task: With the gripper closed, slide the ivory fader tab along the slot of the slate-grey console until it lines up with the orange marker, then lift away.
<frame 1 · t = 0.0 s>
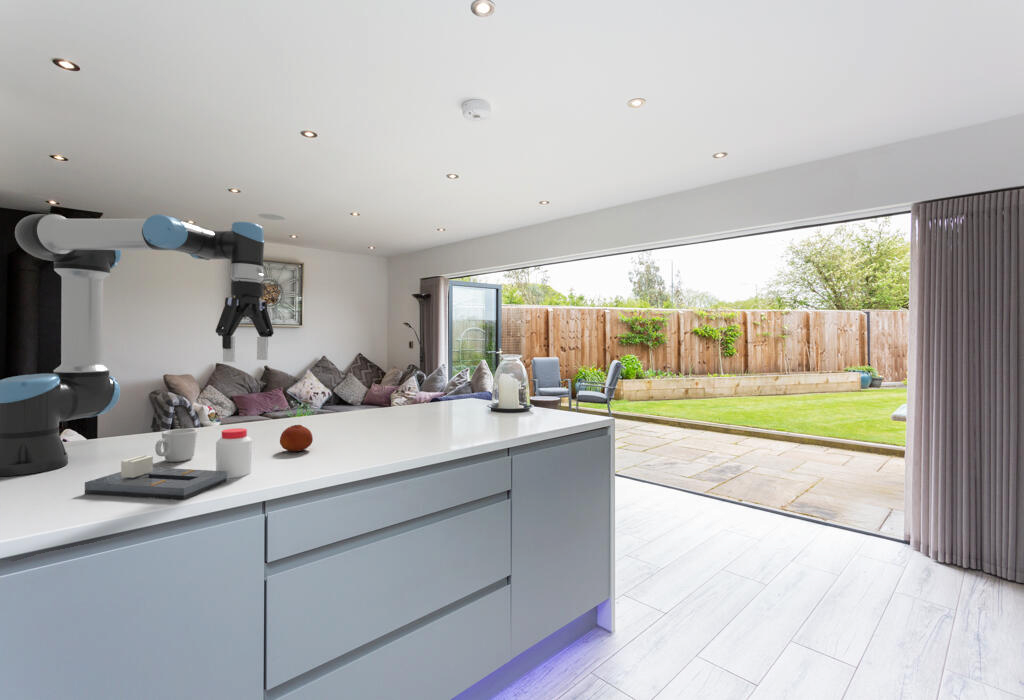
hand: (246, 361, 127), 28 cm above the table, fingers open, 13 cm apart
console: (159, 487, 107), on the table
fruit: (296, 451, 144), on the table
cup: (174, 461, 129), on the table
pill bottle: (233, 474, 119), on the table
fader: (137, 469, 107), point 4 cm above the table, slide at -5.5 cm
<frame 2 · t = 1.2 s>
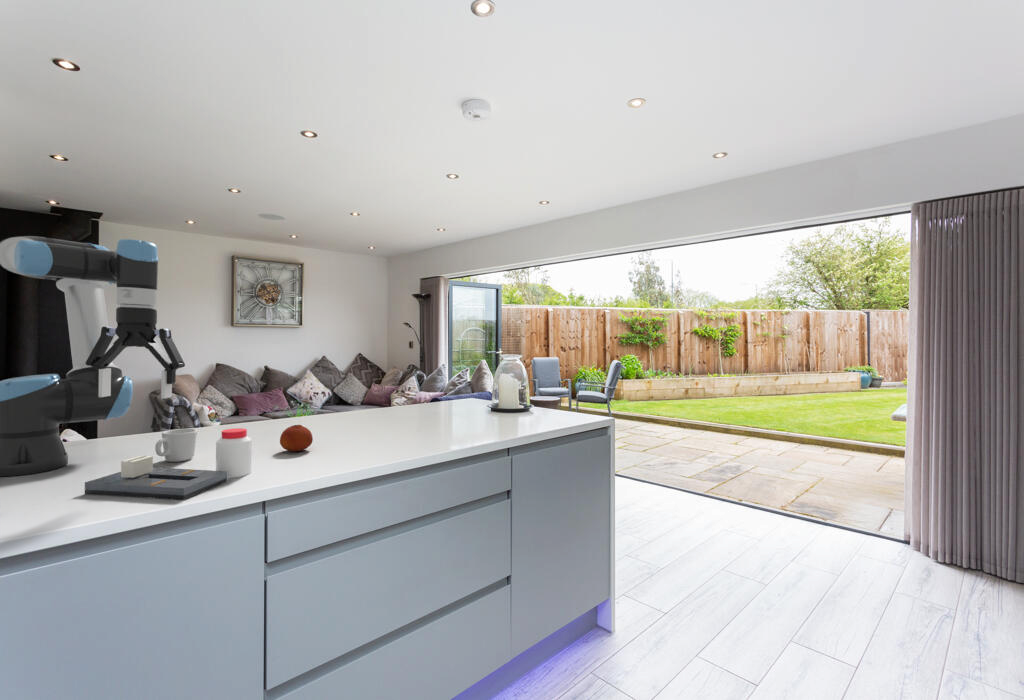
hand: (135, 397, 112), 20 cm above the table, fingers open, 13 cm apart
nothing on the table moved.
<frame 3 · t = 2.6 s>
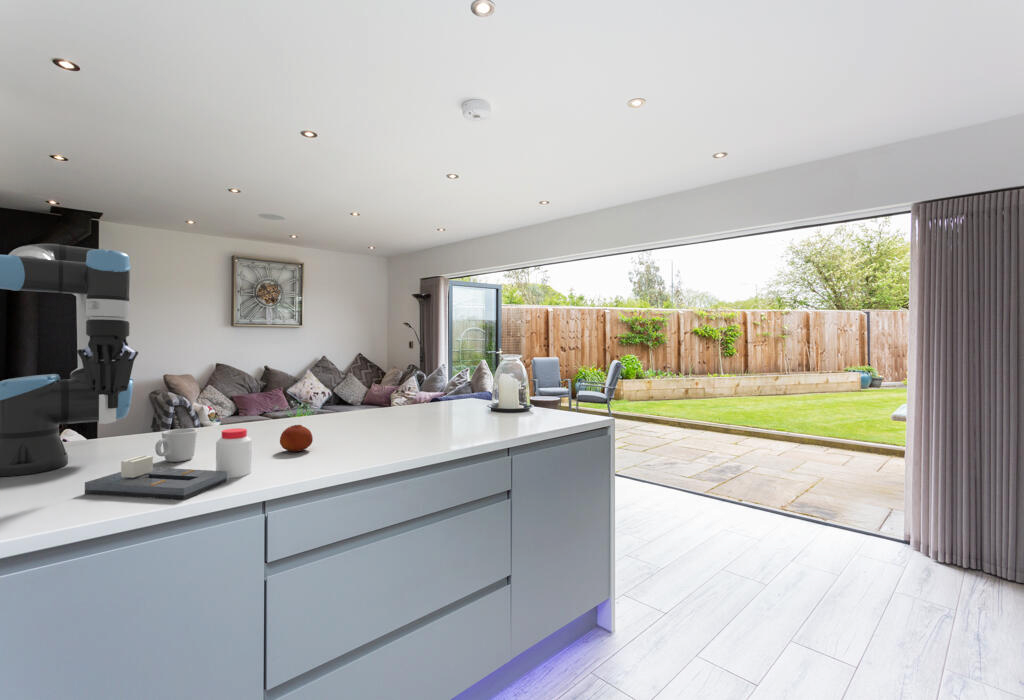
hand: (107, 422, 108), 14 cm above the table, fingers closed
nothing on the table moved.
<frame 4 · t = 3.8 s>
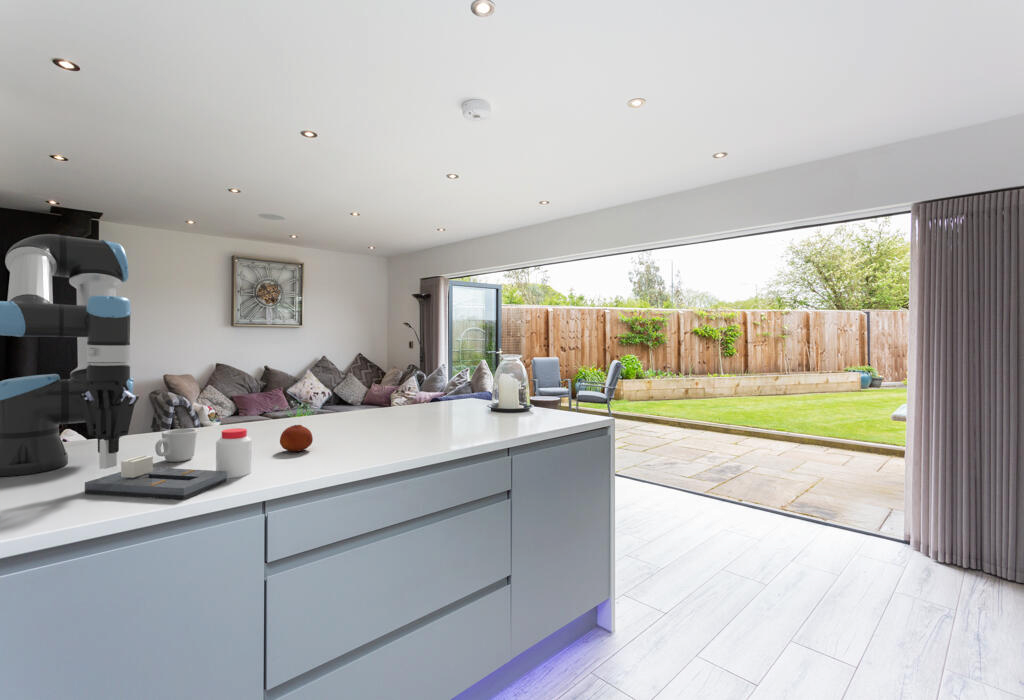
hand: (108, 467, 108), 4 cm above the table, fingers closed
nothing on the table moved.
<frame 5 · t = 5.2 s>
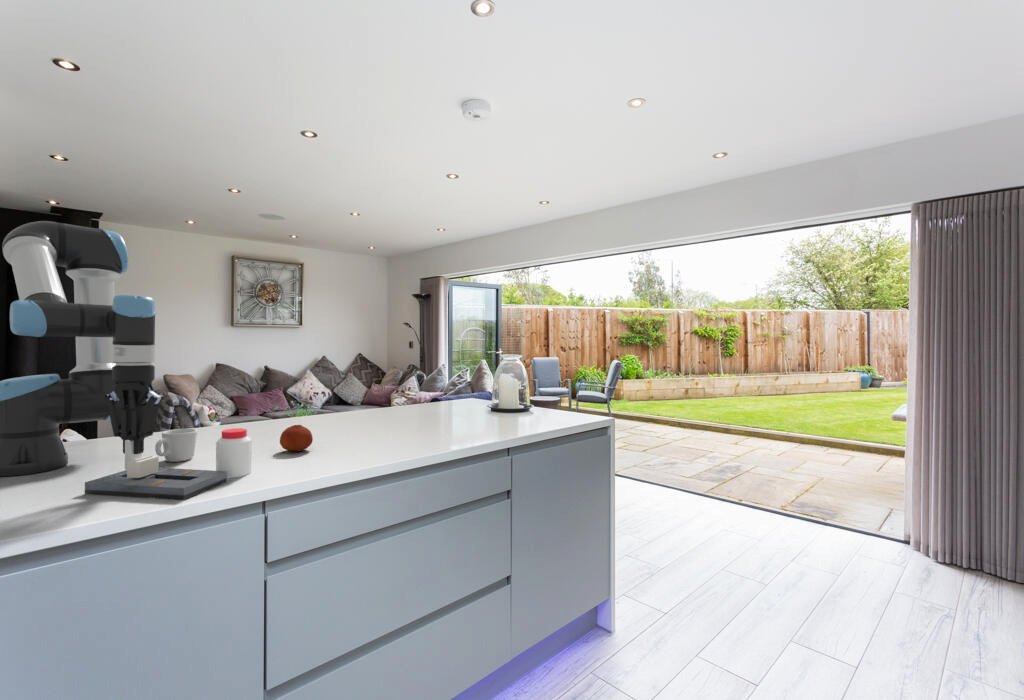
hand: (133, 467, 107), 4 cm above the table, fingers closed
fader: (143, 469, 107), point 4 cm above the table, slide at -4.1 cm, touching gripper
everything else where it was.
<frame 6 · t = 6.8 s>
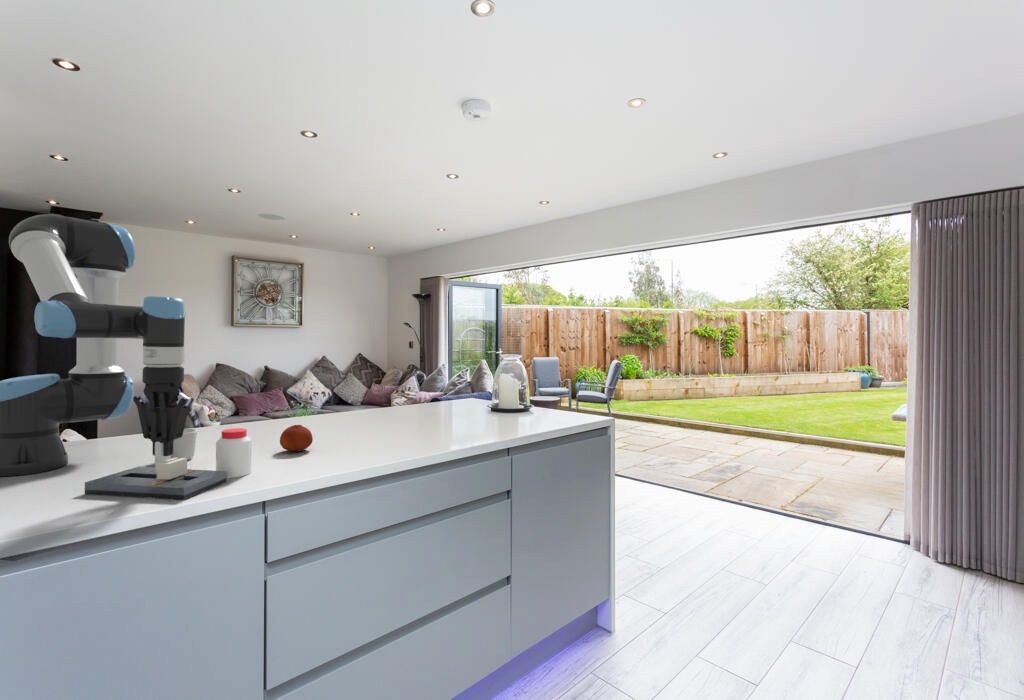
hand: (162, 469, 107), 4 cm above the table, fingers closed
fader: (172, 471, 107), point 4 cm above the table, slide at 3.1 cm, touching gripper
everything else where it was.
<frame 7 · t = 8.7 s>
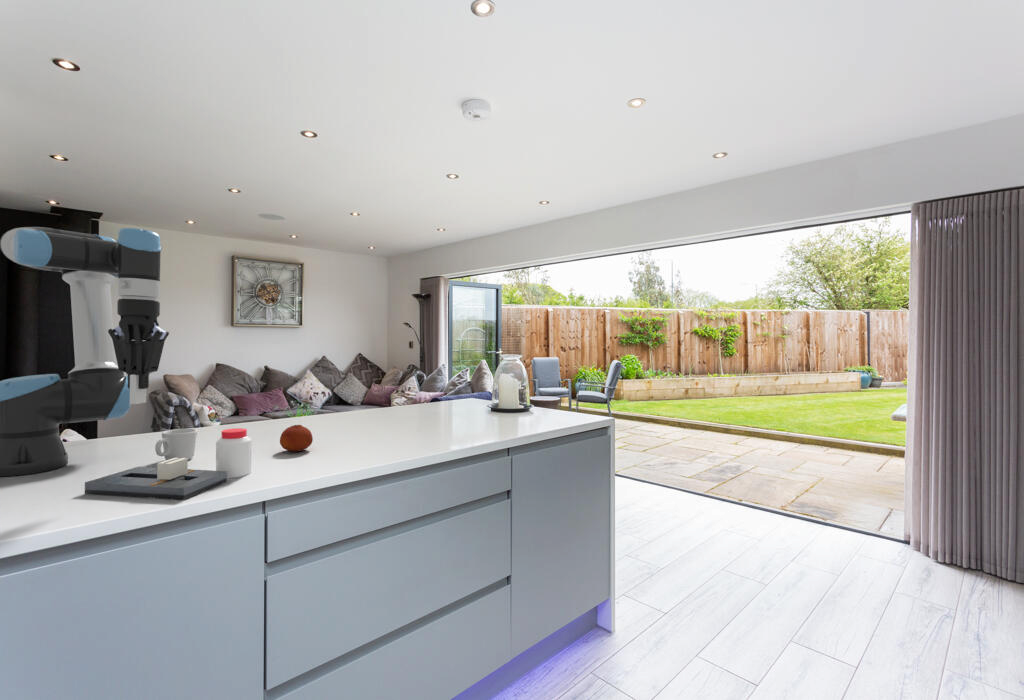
hand: (138, 403, 107), 19 cm above the table, fingers closed
fader: (172, 471, 107), point 4 cm above the table, slide at 3.2 cm
everything else where it was.
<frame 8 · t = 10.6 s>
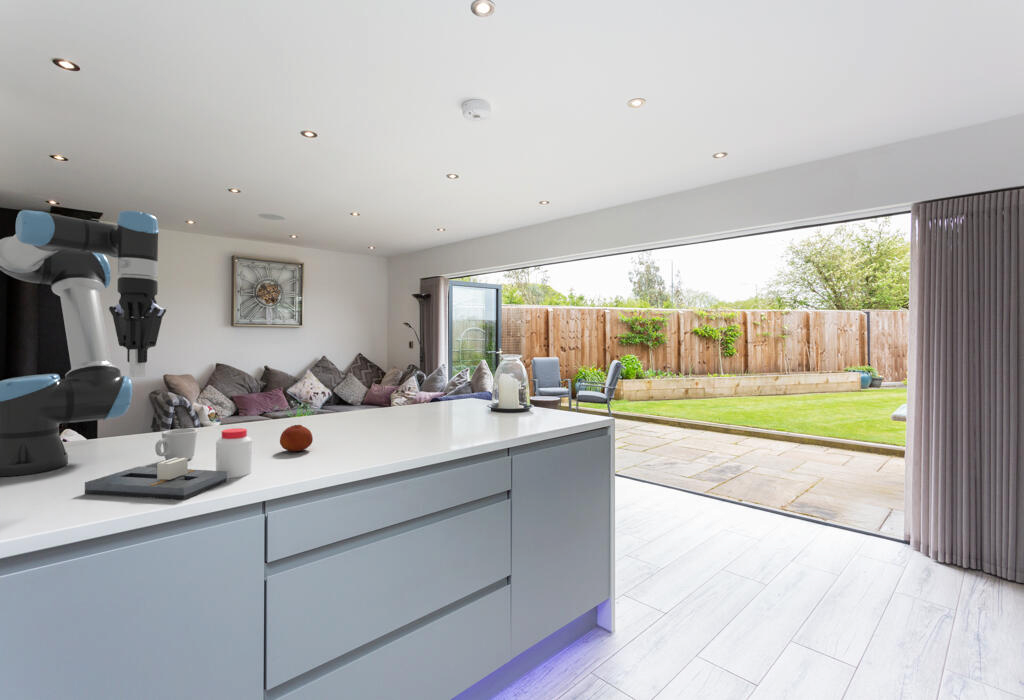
hand: (137, 376, 114), 24 cm above the table, fingers closed
nothing on the table moved.
at the end: fader slide at 3.2 cm; fader touching nothing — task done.
